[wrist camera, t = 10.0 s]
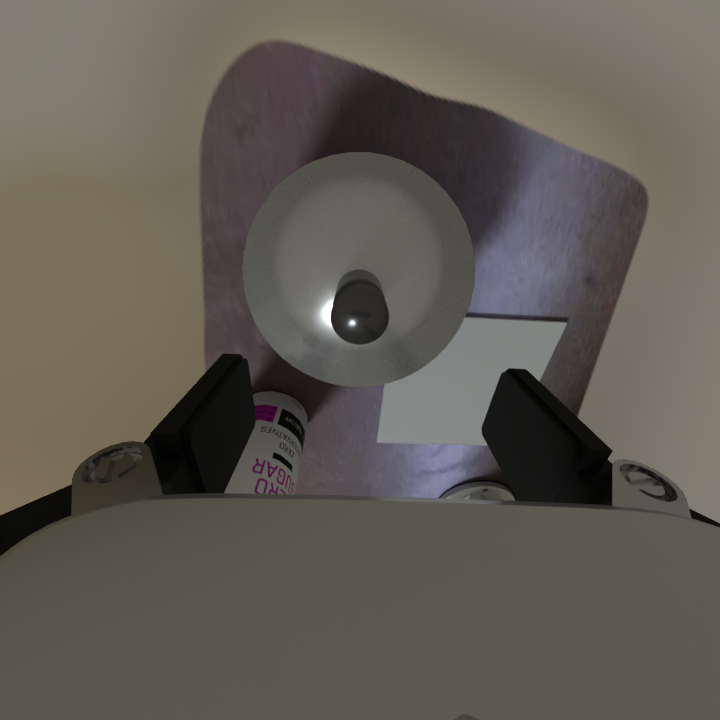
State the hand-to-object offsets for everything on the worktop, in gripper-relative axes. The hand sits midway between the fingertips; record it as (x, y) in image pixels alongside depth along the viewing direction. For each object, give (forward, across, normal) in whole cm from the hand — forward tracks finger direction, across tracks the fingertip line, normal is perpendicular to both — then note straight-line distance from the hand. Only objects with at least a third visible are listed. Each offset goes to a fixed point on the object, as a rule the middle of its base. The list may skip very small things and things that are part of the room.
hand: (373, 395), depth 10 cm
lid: (+12, 0, -1) cm, 12 cm away
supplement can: (+19, +10, +17) cm, 27 cm away
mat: (+19, -12, +12) cm, 25 cm away
